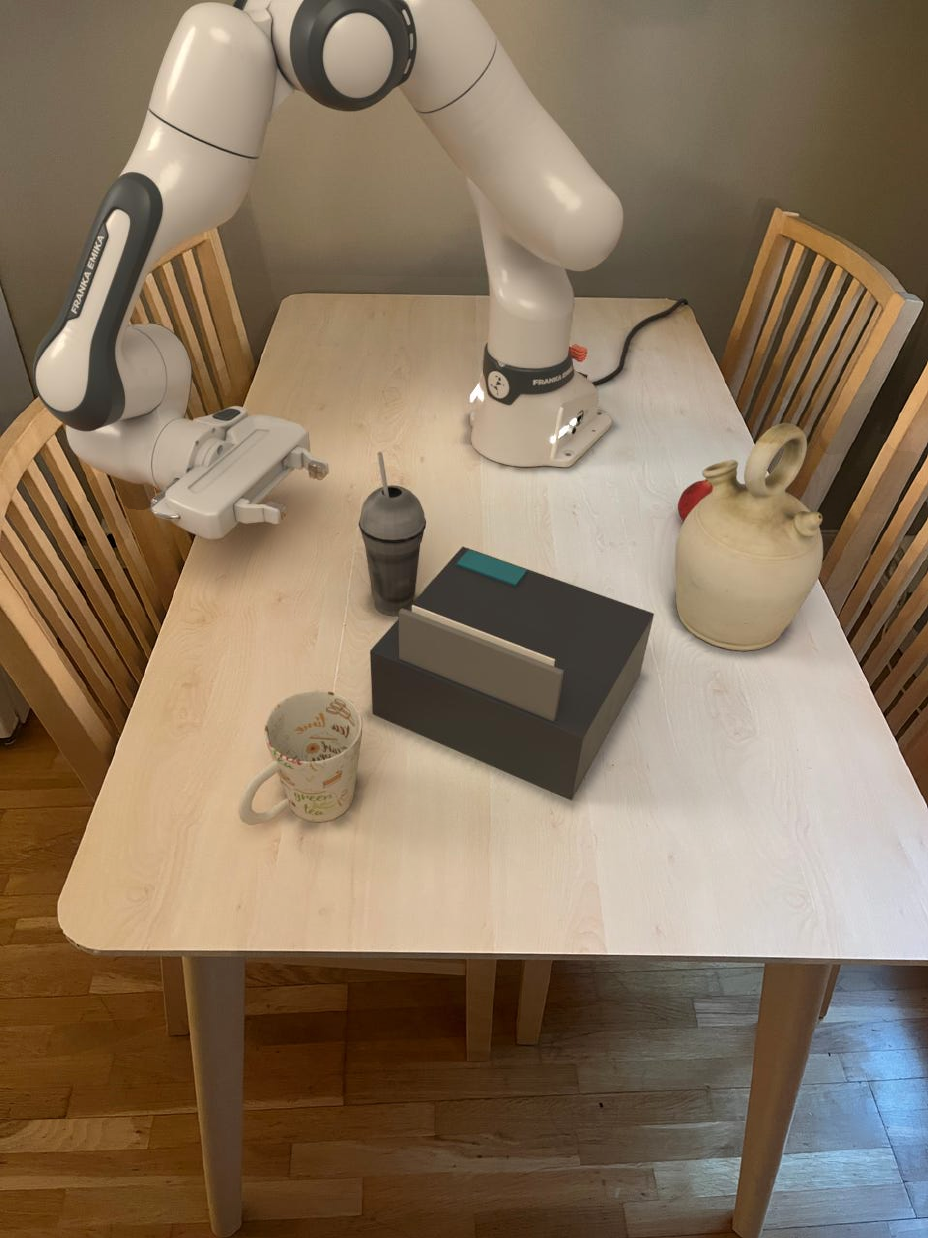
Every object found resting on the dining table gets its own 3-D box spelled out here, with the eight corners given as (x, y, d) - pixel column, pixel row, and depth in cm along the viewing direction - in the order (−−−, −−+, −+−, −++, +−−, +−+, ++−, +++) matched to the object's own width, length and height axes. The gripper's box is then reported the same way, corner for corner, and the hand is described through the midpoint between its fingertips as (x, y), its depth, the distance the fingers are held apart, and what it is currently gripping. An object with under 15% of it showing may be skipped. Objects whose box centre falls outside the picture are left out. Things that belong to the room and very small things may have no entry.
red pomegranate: (669, 536, 119) (682, 484, 113) (676, 512, 123) (688, 460, 118) (715, 547, 118) (729, 494, 112) (720, 522, 122) (735, 470, 116)
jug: (638, 589, 111) (678, 401, 94) (747, 564, 115) (805, 380, 98) (706, 676, 100) (765, 481, 83) (824, 645, 105) (902, 454, 88)
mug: (384, 794, 87) (382, 723, 80) (280, 880, 80) (267, 810, 73) (324, 747, 91) (317, 675, 84) (220, 825, 83) (203, 753, 77)
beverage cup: (417, 629, 104) (417, 478, 91) (354, 618, 105) (346, 468, 91) (431, 588, 109) (434, 440, 96) (372, 579, 110) (366, 431, 97)
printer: (461, 606, 107) (466, 493, 97) (640, 673, 100) (667, 560, 90) (372, 714, 94) (367, 598, 84) (571, 800, 87) (593, 685, 77)
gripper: (134, 484, 96) (249, 519, 92) (243, 398, 110) (346, 425, 107) (146, 533, 100) (256, 568, 97) (249, 444, 115) (348, 471, 111)
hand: (304, 492), depth 102 cm, fingers open, 8 cm apart
